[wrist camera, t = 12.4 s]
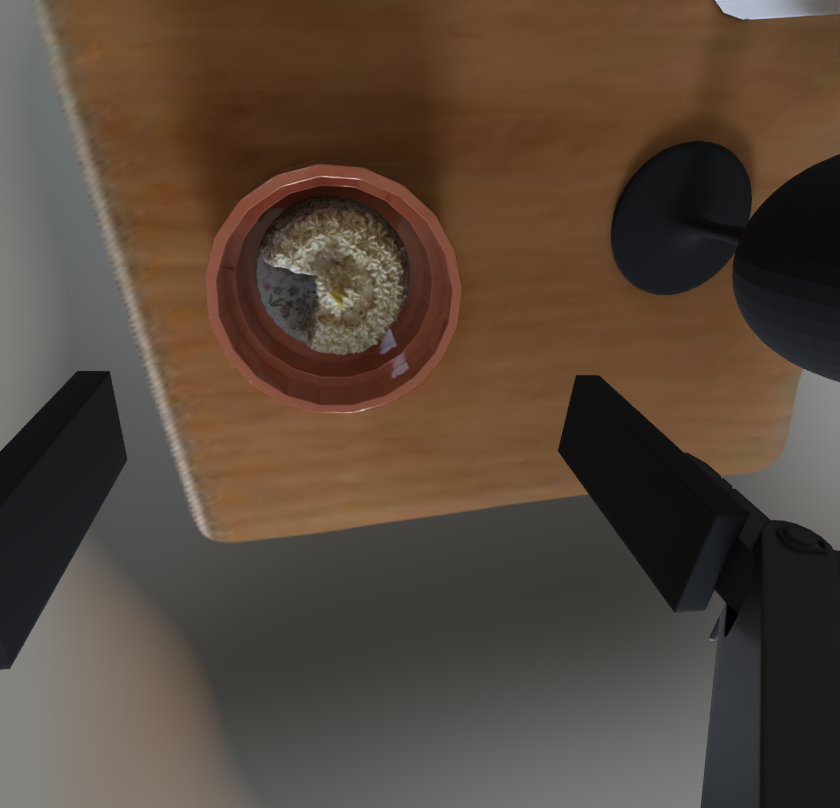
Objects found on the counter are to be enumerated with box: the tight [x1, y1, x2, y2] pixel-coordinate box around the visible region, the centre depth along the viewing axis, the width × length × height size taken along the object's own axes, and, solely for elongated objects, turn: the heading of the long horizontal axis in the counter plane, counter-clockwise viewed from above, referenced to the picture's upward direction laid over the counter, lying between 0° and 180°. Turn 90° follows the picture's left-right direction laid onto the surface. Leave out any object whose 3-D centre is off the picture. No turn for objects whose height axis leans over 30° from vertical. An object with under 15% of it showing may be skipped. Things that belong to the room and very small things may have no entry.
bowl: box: [204, 158, 462, 413], centre depth 33 cm, size 14×14×6 cm
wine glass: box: [611, 141, 840, 382], centre depth 29 cm, size 10×10×20 cm
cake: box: [255, 195, 410, 356], centre depth 33 cm, size 10×10×5 cm
